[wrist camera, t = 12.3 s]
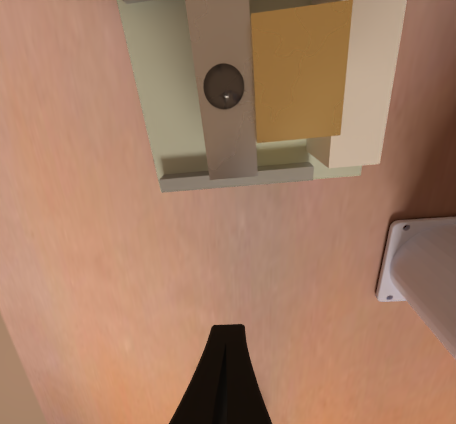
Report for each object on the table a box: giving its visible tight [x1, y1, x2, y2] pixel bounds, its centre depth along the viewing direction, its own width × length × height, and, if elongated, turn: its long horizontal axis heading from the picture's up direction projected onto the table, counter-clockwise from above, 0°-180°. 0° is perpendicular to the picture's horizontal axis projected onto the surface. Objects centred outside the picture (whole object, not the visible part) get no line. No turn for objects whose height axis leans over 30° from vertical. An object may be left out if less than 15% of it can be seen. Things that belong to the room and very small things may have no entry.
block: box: [250, 0, 353, 143], centre depth 12 cm, size 4×4×6 cm
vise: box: [117, 0, 407, 192], centre depth 13 cm, size 14×12×5 cm
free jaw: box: [185, 0, 258, 180], centre depth 12 cm, size 2×8×5 cm, turn 6°
